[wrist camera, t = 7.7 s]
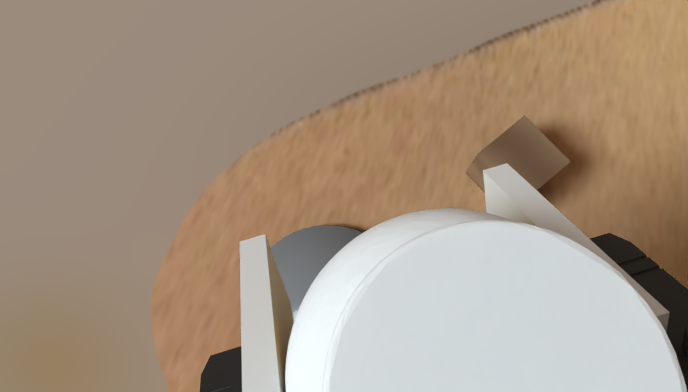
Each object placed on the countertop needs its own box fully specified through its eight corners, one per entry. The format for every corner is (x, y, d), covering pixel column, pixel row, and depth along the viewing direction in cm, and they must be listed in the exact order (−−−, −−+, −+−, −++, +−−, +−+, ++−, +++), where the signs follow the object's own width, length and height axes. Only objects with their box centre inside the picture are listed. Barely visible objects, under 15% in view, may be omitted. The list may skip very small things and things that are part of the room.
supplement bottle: (426, 229, 20) (543, 64, 8) (536, 375, 19) (904, 469, 6) (283, 328, 19) (151, 327, 7) (387, 490, 18) (462, 873, 5)
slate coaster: (367, 201, 35) (367, 198, 34) (441, 352, 33) (443, 353, 32) (220, 269, 34) (216, 268, 34) (284, 429, 32) (282, 432, 31)
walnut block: (507, 138, 36) (524, 115, 32) (547, 179, 35) (570, 161, 31) (465, 172, 36) (477, 154, 32) (505, 215, 35) (523, 202, 31)
